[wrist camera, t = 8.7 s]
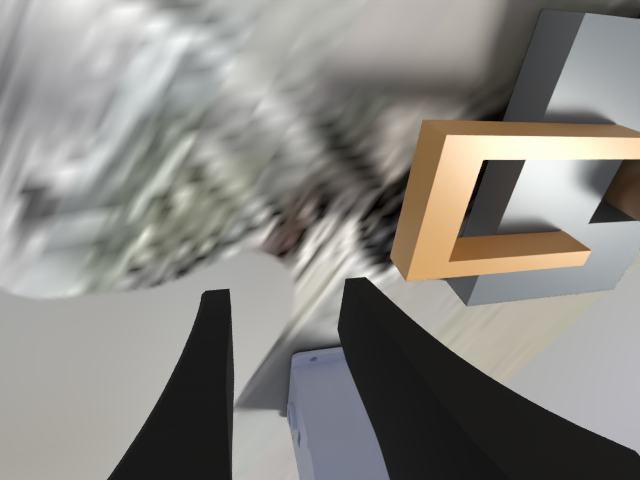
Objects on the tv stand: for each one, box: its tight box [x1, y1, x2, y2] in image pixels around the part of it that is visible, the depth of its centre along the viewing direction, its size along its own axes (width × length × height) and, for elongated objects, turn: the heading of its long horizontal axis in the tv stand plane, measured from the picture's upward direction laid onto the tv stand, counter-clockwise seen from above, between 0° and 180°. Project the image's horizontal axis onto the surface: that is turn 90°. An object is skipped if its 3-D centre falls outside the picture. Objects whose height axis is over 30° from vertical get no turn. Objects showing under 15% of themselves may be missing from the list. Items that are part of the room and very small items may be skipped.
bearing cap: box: [390, 120, 640, 282], centre depth 19 cm, size 11×7×2 cm, turn 84°
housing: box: [447, 9, 640, 306], centre depth 22 cm, size 12×16×2 cm
